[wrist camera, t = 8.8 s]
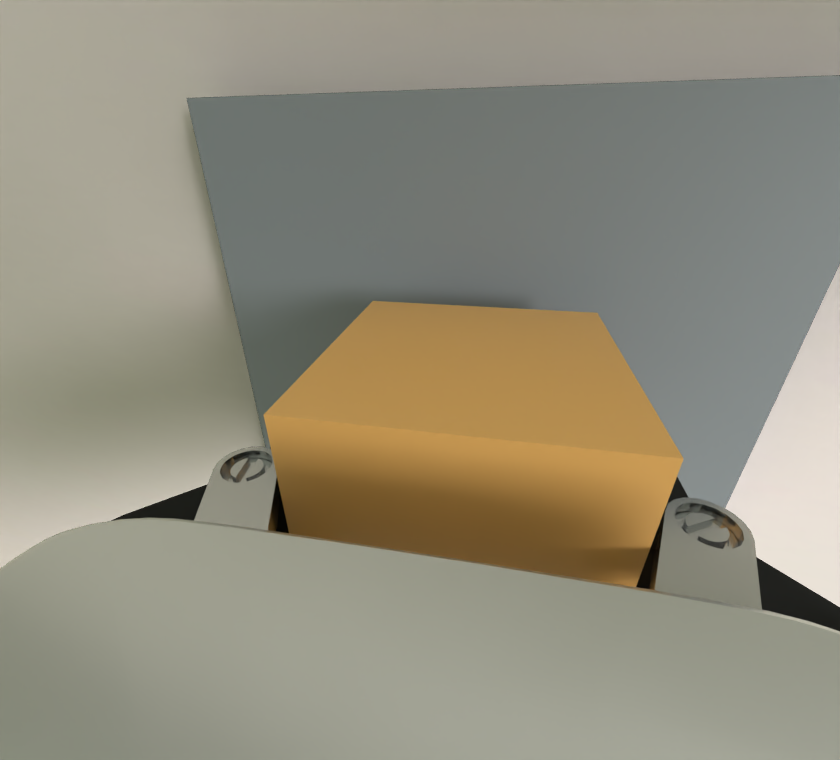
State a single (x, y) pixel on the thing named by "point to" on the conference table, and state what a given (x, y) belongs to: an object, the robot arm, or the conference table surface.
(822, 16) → the conference table surface
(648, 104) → the peg board
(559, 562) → the orange cube
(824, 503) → the conference table surface
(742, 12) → the conference table surface
